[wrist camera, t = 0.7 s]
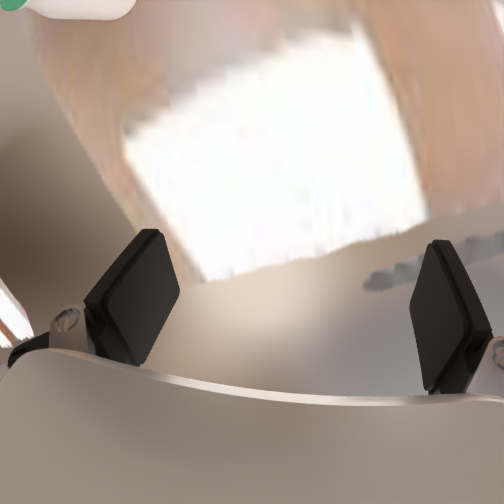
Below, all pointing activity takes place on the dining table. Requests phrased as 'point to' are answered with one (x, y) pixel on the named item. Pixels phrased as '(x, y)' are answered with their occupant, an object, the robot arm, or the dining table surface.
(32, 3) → the milk bottle
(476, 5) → the dining table surface
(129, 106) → the dining table surface
